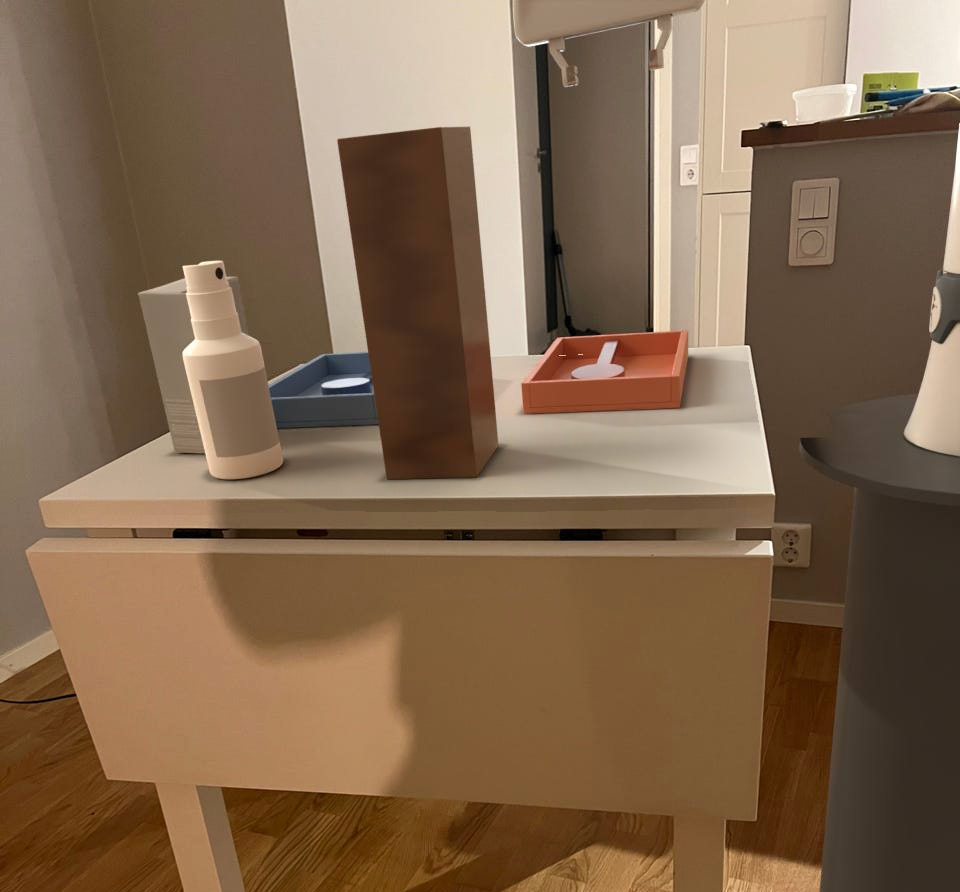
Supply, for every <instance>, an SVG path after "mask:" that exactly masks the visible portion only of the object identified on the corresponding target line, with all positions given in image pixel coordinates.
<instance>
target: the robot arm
mask: <svg viewBox="0 0 960 892" xmlns="http://www.w3.org/2000/svg"><path fill="white" fill-rule="evenodd" d="M705 1H706V0H512V17H513V18H512V19H513V29H514V35H515V37H516V39H517V40H518V41H519V43H520V44H522V45H523V46H525V47H533V46H540V45H543V44H548V50H549V54H550V55H551V57H552V58H553V59H554V61H555V63H556V64H557V65H558V67H559V69H561V79H562V85H563V87H564V88H568V87H573V86H578V85H579V78H578V76H577V75H578V74H579V73H578V66H577V65H570V66H569V64H568V63H567V61H566V59H565V58H564V56H563V54H562V52H565V51H566V45H565V40H568V39H571V38H577V37H581V36H586V35H587V36H588V35H592V34H597V33H601V32H606V31H610V30H615V29H621V28H625V27H629V26H635V25H639V24H644V23H648V22H654V21H656V25H657V26H656V27H657V29H658V31H659V32H661V33H660V36H659V39H658V41H657V44H656V47H655V49H650V50H647V57H648V59H649V61H648V69H649V71H654V70H655V71H656V70H660V69H664V68H665V62H664V58H665V57H664V50H665V48H666V46H667V43H668V41H669V38H670V36H671V35H672V32H673V17H677V16H681V15H687V14H691V13H696V12H698V11H700V9H701V8H702V6H703V4H704V3H705ZM954 164H955V165H954V173H953V183H952V189H951V199H950V207H949V216H948V224H947V232H946V240H945V249H944V258H943V266H942V267H941V268H940V269H939V270H937V273H936V279H935V285H934V287H933V289H932V298H931V305H930V314H929V326H928V330H929V337H930V339H931V343H930V349H929V352H928V356H927V357H928V358H927V362H926V366H925V369H924V370H925V371H924V374H923V379H922V381H921V384H920V388H919V392H918V394H919V395H918V398H917V401H916V403H915V406H914V409H913V412H912V414H911V417H910V419H909V421H908V424H907V426H906V428H905V430H904V436H905V438H906V439H907V440H908V441H910V442H911V443H913V444H915V445H917V446H920V447H922V448H925V449H928V450H931V451H935V452H939V453H944V454H949V455H954V456H960V124H959V125H958V136H957V146H956V156H955V163H954Z"/></svg>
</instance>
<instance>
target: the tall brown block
mask: <svg viewBox="0 0 960 892" xmlns="http://www.w3.org/2000/svg"><path fill="white" fill-rule="evenodd" d="M471 132H472V130H471V126H467V125H466V126H464V125H463V126H437V127H429V128H419V129H411V130H402V131H394V132H385V133H375V134H367V135H366V134H365V135H358V136H350V137H349V136H348V137H342V138H341V137H340V138H337V139H336V142H337V143H336V144H337V149H338V150H337V151H338V156H339V162H340V170H341V176H342V183H343V191H344V197H345V203H346V210H347V219H348V225H349V231H350V238H351V244H352V251H353V257H354V265H355V266H354V267H355V271H356V273H355V274H356V278H357V286H358V294H359V299H360V300H359V301H360V306H361V313H362V319H363V321H362V322H363V327H364V334H365V339H366V347H367V352H368V355H369V362H370V368H371V375H372V382H373V389H374V396H375V403H376V409H377V416H378V423H379V424H378V429H379V435H380V443H381V449H382V450H381V451H382V457H383V462H384V470H385V476H386V480H413V479H417V480H418V479H456V478H457V479H458V478H459V479H462V478H463V479H465V478H478V476H479V475H480V473H481V472H482V470H483V469H484V467H485V466H486V464H487V463H488V462H489V460H490V459H491V457H492V456H493V455H494V453H495V452H496V451H497V449H498V447H499V434H498V421H497V414H496V413H497V411H496V401H495V390H494V388H495V387H494V379H493V368H492V367H493V366H492V355H491V346H490V332H489V322H488V311H487V301H486V299H487V297H486V288H485V278H484V277H485V276H484V267H483V255H482V244H481V232H480V221H479V211H478V199H477V188H476V178H475V177H476V176H475V165H474V153H473V144H472V143H473V142H472V141H473V140H472V133H471Z"/></svg>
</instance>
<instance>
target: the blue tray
mask: <svg viewBox="0 0 960 892" xmlns="http://www.w3.org/2000/svg"><path fill="white" fill-rule="evenodd" d="M369 372H371V368H370V362H369V355H368V351H355V352H354V351H353V352H338V353H337V352H336V353H322V354H320V355H318V356H317V357H315V358H313V359H311V360H309V361H307V362H306V363H304V364H303V365H301V366H299V367H297V368H295V369H294V370H292V371H290V372H289V373H286V374H285V375H283V376H281V377H280V378H278V379H276V380H274V381H273V382H270V383H268V386H269V391H270V396H271V401H272V406H273V411H274V416H275V421H276V426H277V429H290V428H293V429H294V428H313V427H314V428H315V427H316V428H317V427H320V428H321V427H346V426H369V425H370V426H372V425H379V423H378V416H377V409H376V403H375V396H374V389H373V382H372V383H371V384H370V385H371V393H364V394H342V395H322V390H321V385H322V384H324V383H326V382H330V381H334V380H339V379H347V378H360V377H362V376H364V375H366V374H367V373H369Z"/></svg>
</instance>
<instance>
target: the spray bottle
mask: <svg viewBox="0 0 960 892" xmlns="http://www.w3.org/2000/svg"><path fill="white" fill-rule="evenodd" d="M182 270H183V275H184V278H185V279H186V284H187V287H186V288H187V293H186V296H187V301H188V305H189V309H190V314H191V323H192V327H193V332H194V336H195V340H194V341H193V342H192V343H191V344H190V345H189V346H188V347H186V348H185V349H184V351H183V361H184V365H185V369H186V373H187V378H188V382H189V386H190V390H191V395H192V399H193V403H194V407H195V412H196V416H197V420H198V424H199V429H200V433H201V437H202V441H203V446H204V450H205V453H204V455H205V458H206V463H207V467H208V471H209V474H210V475H211V476H212V477H213V478H215V479H220V480H243V479H244V480H245V479H249V478H255V477H258V476H259V477H260V476H262V475H266V474H268V473H272V472H273V471H275V470H277V469H278V468H280V467H282V465H283V462H284V457H283V453H282V446H281V442H280V437H279V432H278V428H277V426H276V421H275V416H274V411H273V406H272V401H271V396H270V391H269V386H268V385H269V381H268V376H267V371H266V366H265V362H264V355H263V352H262V345H261V343H260V341H259V340H258V339H256V338H254V337H252V336H250V335H249V334H248V335H249V336H248V335H246V334H244V333H242V332H241V327H240V322H239V317H238V313H237V312H236V308H235V303H234V298H233V293H232V288H231V287H229V282H227V277H228V276H227V273H226V268H225V263H224V261H223V260H208V261H201V262H200V263H198V264H189V265H182Z"/></svg>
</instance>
